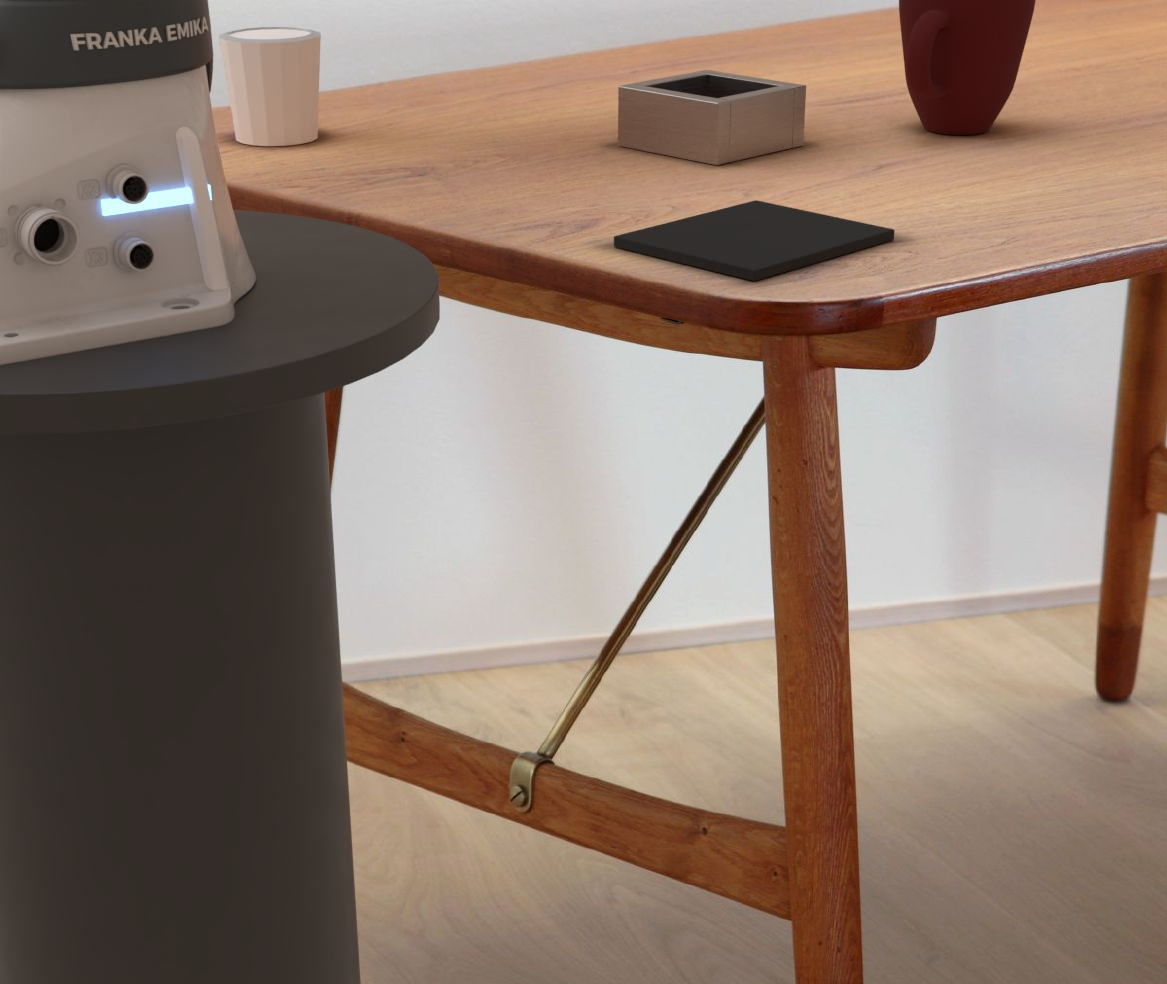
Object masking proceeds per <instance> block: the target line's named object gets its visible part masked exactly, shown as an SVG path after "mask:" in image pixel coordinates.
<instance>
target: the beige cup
mask: <svg viewBox="0 0 1167 984" xmlns="http://www.w3.org/2000/svg"><path fill="white" fill-rule="evenodd" d="M218 36H219V37H218V40H219V46H220V52H221V59H222V63H223V69H224V76H225V81H226V88H227V89H226V90H227V94H228V100H229V101H228V102H229V106H230V112H231V119H232V123H233V132H234V136H235V137H234V138H235V141H236V142H238V143H240V144H243V145H248V146H255V147H256V146H258V147H286V146H287V147H288V146H296V145H302V144H307V143H311V142H313V141H315V140H317V139H319V138H318V137H319V136H318V135H319V133H318V132H319V104H320V103H319V101H320V72H321V71H320V67H321V41H322V40H321V38H322V37H321V32H320V31H317V30H313V29H307V28H299V27H291V26H290V27H289V26H287V27H286V26H265V27H264V26H263V27H262V26H261V27H260V26H259V27H247V28H242V29H236V30H230V31H226V32H223V33H220V34H219V35H218Z"/></svg>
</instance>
